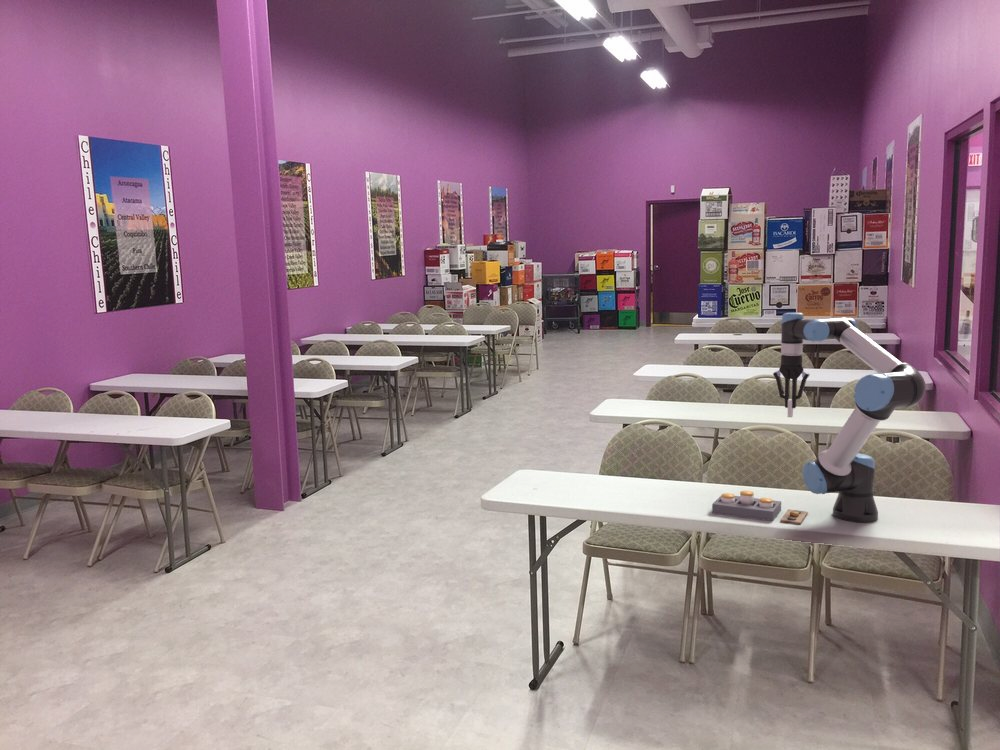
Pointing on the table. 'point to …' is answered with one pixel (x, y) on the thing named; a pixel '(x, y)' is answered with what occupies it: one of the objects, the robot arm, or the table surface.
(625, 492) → the table surface
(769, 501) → the button
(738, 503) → the button board
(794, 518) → the card
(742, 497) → the button mid
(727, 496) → the button
